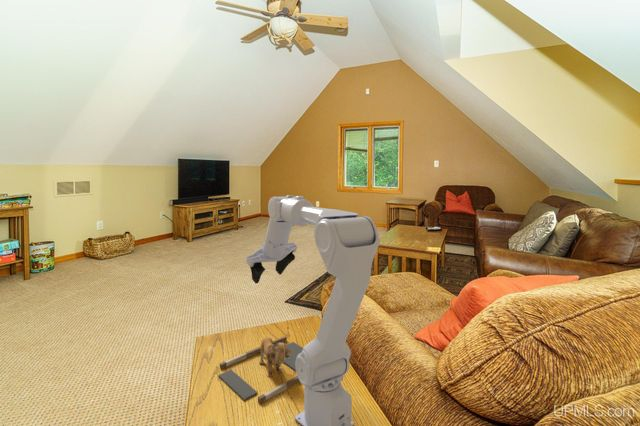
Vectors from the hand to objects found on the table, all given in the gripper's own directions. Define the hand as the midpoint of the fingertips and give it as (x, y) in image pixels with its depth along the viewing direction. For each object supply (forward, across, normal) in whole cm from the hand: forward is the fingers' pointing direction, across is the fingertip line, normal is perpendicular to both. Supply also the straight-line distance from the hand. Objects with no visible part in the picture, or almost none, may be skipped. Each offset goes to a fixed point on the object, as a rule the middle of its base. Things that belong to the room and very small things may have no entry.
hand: (267, 276), depth 91 cm
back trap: (+17, -2, +16) cm, 24 cm away
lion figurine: (+16, +5, +16) cm, 24 cm away
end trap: (+15, +16, +16) cm, 27 cm away
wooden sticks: (+16, +5, +16) cm, 23 cm away
